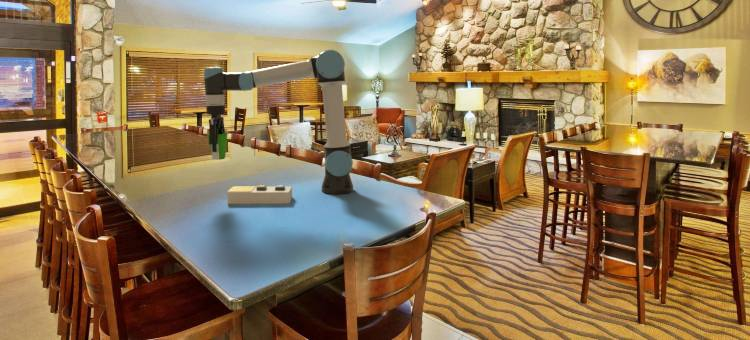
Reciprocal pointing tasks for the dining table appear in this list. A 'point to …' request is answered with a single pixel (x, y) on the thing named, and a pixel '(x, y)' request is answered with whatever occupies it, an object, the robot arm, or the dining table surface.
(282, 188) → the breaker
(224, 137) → the cup
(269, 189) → the box
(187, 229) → the dining table surface
